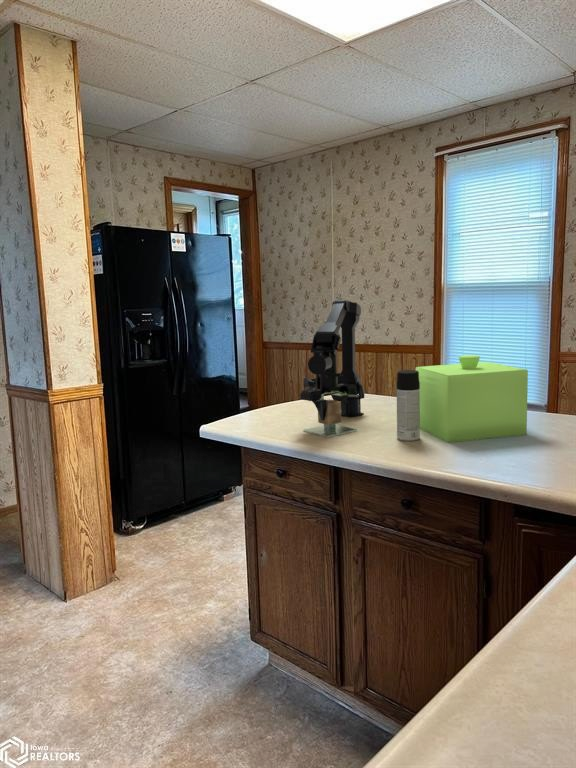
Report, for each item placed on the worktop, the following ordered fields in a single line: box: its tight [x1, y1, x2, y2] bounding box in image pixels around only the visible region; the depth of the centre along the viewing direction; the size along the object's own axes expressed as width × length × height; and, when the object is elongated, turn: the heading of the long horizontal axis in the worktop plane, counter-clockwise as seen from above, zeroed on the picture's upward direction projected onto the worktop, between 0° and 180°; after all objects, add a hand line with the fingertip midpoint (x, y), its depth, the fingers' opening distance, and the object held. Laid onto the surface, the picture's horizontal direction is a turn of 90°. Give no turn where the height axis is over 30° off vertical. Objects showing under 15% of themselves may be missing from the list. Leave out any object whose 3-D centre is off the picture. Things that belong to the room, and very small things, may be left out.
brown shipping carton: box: [317, 399, 342, 425], centre depth 183 cm, size 5×5×7 cm
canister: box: [415, 354, 529, 443], centre depth 175 cm, size 25×21×23 cm
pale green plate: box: [303, 424, 358, 438], centre depth 183 cm, size 12×12×7 cm
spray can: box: [396, 369, 421, 442], centre depth 169 cm, size 7×7×20 cm
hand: (329, 418), depth 183 cm, fingers closed on brown shipping carton, 5 cm apart
